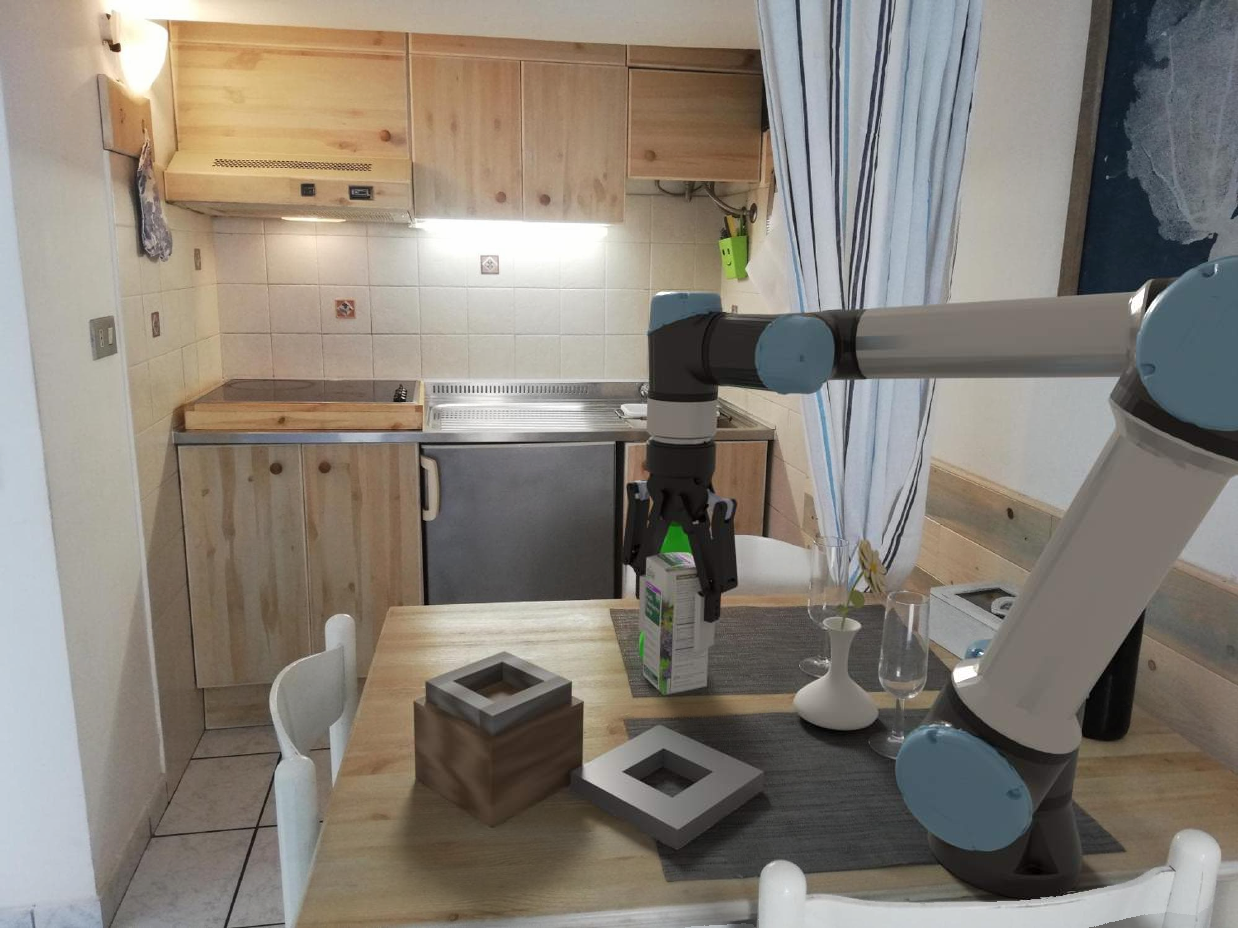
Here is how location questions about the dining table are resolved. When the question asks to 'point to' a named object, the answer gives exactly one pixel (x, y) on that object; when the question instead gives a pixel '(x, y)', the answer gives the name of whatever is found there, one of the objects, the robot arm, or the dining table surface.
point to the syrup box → (672, 625)
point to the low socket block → (653, 811)
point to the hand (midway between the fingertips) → (675, 637)
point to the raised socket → (497, 736)
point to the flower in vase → (844, 661)
